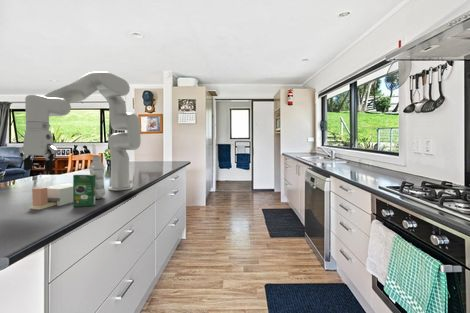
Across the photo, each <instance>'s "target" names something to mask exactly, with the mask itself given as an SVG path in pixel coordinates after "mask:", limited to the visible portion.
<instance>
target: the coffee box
mask: <svg viewBox="0 0 470 313" xmlns="http://www.w3.org/2000/svg"><path fill="white" fill-rule="evenodd" d="M72 176H73V178H72V179H73V181H72V182H73V183H72V184H73V202H72V204H73V206H72V207H74V208H76V207H78V208H79V207H94V206H96V199H95V175H90V174H73V175H72Z"/></svg>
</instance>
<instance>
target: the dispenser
mask: <svg viewBox="0 0 470 313" xmlns="http://www.w3.org/2000/svg"><path fill="white" fill-rule="evenodd" d="M44 187H45V188H47V194H48V201H57V205H56V206H59V207H60V206H64V205H67V204H73V183H71V182H70V183H69V182H68V183H66V182H65V183H60V184H55V185H50V186H44Z"/></svg>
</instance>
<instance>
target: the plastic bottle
mask: <svg viewBox="0 0 470 313" xmlns="http://www.w3.org/2000/svg"><path fill="white" fill-rule="evenodd" d="M91 160H92V161H91V163H90V165H89V168H88V169H89V175H95V200H99V199H104V198H105V195H106V189H105V184H104V183H105V182H104V178H105V176H104V175H105V167H106V166H105V165H104V163H103V162H102V161H101V160H102V156H101V155H92V157H91Z"/></svg>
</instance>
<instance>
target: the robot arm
mask: <svg viewBox="0 0 470 313" xmlns="http://www.w3.org/2000/svg"><path fill="white" fill-rule="evenodd" d="M130 90H131V88H130V84H129V82H128V81H127V80H125V79H124V78H122V77H120V76H119V75H116V74H114V73H111V72H109V71H105V70H103V71H101V70H100V71H92V72H87V73H86V74H84V75H82V76H81V77H79V78H77V79H76V80H75V81H73V82H71V83H69V84H67V85H64V86H62V87H60V88H57V89H54V90H53V91H50V92H48V93H46V94H44V95H39V94H27V95H26V96H25V98H24V99H25V100H24V101H25V107H24V108H25V109H24V110H25V130H24V135H23V146H21V147H19V148H18V152H19V155H20V157H21V159H22V160H23V170H24V171H30V170H33V160H32V158H33V157H34V156H37V157H38V156H39V157H40V156H42V157H43V158H44V159H45V160H44V171H46V172H47V171H48V172H49V171H53V170H54V162H53V161H54V160H55V158H56V157H57V154H58V153H59V152H58V151H59V149H58V148H57V147H55V146H54V139H53V135H52V131H51V130H50V127H51V124H50V117H63V116H67V115H68V114H70V112H71V110H72V106H71V104H75V103H78V102H82V101H85V100H86V99H88V97H90V96H91V95H93V94H95V92H97V91H98V92H99V94H101V96H102V97H103V98H105V100H106V101H107V103H108V106H109V119H110V120H109V122H110V127H111V129H113V130H114V131H126V132H115V133H112V134H110V136H109V137H108V141H107V143H108V146H109V151H110V185H111V186H108V188H107V189H108V190H109V191H118V192H119V191H126V190H127V191H128V190H132V189H133V185H131V184H133V182H134V181H133V179H130V156H129V154H128V152H127V151H136V150H138V149H139V148H140V146H141V141H142V140H141V138H142V137H141V136H142V135H141V123H140V122H141V121H140V118H139V116H138V115H137V114H136V113H133V112H127V107H126V106H127V104H126V102H125V100H124V98H123V97H125V96H127V95H128V94H129V93H130Z"/></svg>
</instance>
